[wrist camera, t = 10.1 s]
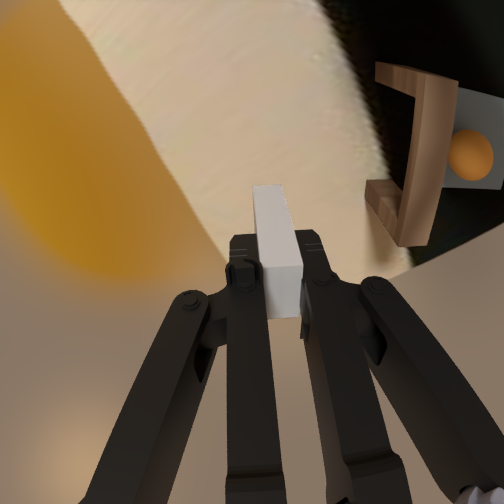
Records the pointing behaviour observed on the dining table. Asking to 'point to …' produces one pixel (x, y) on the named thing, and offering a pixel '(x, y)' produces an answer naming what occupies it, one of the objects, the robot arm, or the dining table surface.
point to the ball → (470, 155)
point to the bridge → (417, 154)
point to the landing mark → (489, 125)
